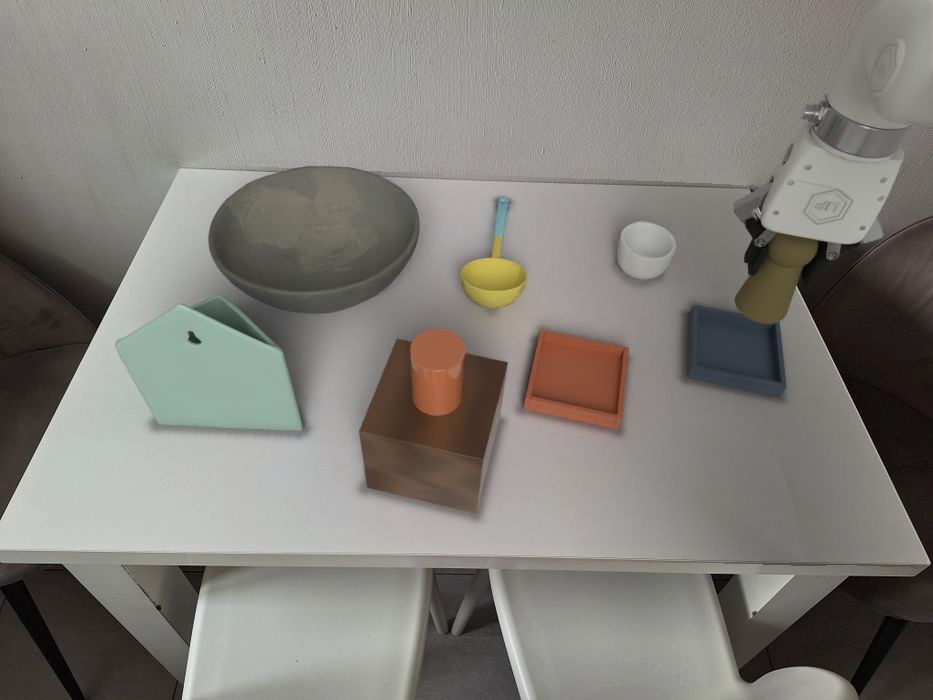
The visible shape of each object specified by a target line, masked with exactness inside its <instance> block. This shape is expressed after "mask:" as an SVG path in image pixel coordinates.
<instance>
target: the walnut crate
mask: <svg viewBox="0 0 933 700" xmlns="http://www.w3.org/2000/svg"><path fill="white" fill-rule="evenodd" d="M411 344H412V341H410V340H405V339H401V338H396V340H395V341H394V344H393V347H392V349H391V352H390V354H389V356H388V359H387V361H386V363H385V366H384V368H383V372H382V373H381V376H380V379H379V381H378V383H377V386H376V388H375V391H374V393H373V395H372V398H371V401H370V403H369V405H368V407H367V411H366V412H365V414H364V415H365V416H364V418H363V420H362V423H361V425H360V427H359V430H358V434H359V440H360V447H361V455H362V462H363V469H364V477H365V483H366V487H367V489H372V490H377V491H380V492H383V493H384V492H385V493H389V494H393V495H397V496H400V497H401V496H402V497H404V498H410V499H414V500H418V501H422V502H426V503H431V504H434V505H439V506H443V507H447V508H452V509H455V510H460V511H463V512H468V513H472V514H477V513H478V510H479V506H480V502H481V501H480V500H481V497H482V493H483V489H484V485H485V480H486V478H487V473H488V468H489V465H490V461H491V456H492V452H493V448H494V444H495V440H496V435H497V433H498V428H499V424H500V418H501V412H502V405H503V398H504V393H505V384H506V378H507V374H508V373H507V372H508V366H509V362H508V361H504V360H501V359H496V358H491V357H486V356H481V355H476V354H471V353H468V352H465V366H464V380H463V394H462V400H461V403H460V405H459V406H458V407H457V408H456V409H455V410H454V411H452V412H451V413H448V414H445V415H440V416H434V415H429V414H426V413H424V412H422V411H420V410H419V409H418V408H417V407H416V406H415V404H414V403H413V400H412V392H411V360H410V347H411Z"/></svg>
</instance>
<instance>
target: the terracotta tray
mask: <svg viewBox="0 0 933 700" xmlns="http://www.w3.org/2000/svg"><path fill="white" fill-rule="evenodd" d="M629 351H630V347H629V346H623V345H618V344H614V343H608V342H603V341H598V340H593V339H589V338H584V337H580V336H575V335H569V334H565V333H560V332H555V331H550V330H544V329H540V330H539V336H538V339H537V344H536V348H535V353H534V357H533V362H532V367H531V371H530V376H529V380H528V385H527V388H526V392H525V398H524V403H523V407H522V408H523V410H525V411H529V412H535V413H539V414H544V415H548V416H554V417H558V418H562V419H566V420H572V421H576V422H580V423H585V424H590V425H594V426H598V427H604V428H607V429H613V430H619V428H620V425H621V423H622V420H623V412H624V402H625V394H626V393H625V392H626V381H627V374H628V373H627V370H628V361H629V353H630V352H629Z"/></svg>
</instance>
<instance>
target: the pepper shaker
mask: <svg viewBox="0 0 933 700" xmlns="http://www.w3.org/2000/svg"><path fill="white" fill-rule="evenodd" d="M818 241H819V240H815V239H809V238H803V237H798V236H793V235H787V234H782V233H777V234H776V235H775V236H774V237H773V238H772V239H771V240H770V241H769V242H768V248H769V249H768V253H767V255H766V256H765V258H764V260H763V262H762V264H761V266H760V268H759V270H758V272H757V273H756V275H754V276H752V275H748V277H747V278H746V279H745V281H743V284H742V285H741V287H740V288H739V290H738V291H737V293H735V297H734V299H733V301H734V304H735V307H736V309H737V310H738V313H741V314H743V315H744V316H745V317H747V318H749V319H750V320H752V321H755V322H759V323H764V324H773V323H778V322H780V323H781V321H783V320H784V319H785V318H786V317H787V315H788V311H789V309H790V305H791V303H792V300H793V297H794V294H795V292H796V288H797V286H798V283H799V280H800V278H801V271H802V269H803V266H804V265H806V264H808V263H809V262H810V261H811V260H812V259H813V258H814V256H815V255H816V253H817V249H818Z"/></svg>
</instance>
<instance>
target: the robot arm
mask: <svg viewBox="0 0 933 700" xmlns="http://www.w3.org/2000/svg"><path fill="white" fill-rule="evenodd" d="M799 117H800V120H804V121H807V122H805V124H804V125H803V126H802V127H801V129H800V130H799V131H798V133H796V135H795V136H794V138H793V139H792V140H791V142H790V143H789V145H788V146H787V147H786V149H785V150H784V152H783V153H782V155H781V157H780V158H779V159H778V161H777V162H776V164H775V166H774V168H773V170H772V171H771V173H770V175H769V177H768V178H767V181H766V182H765V184H764V185H763V186H761V187H759V188H757V189H755V190H753V191H751V192H750V193H748V194H746V195H744V196H743V197H741V198H739V199H737V200H735V201H734V203H733V214H734V215H735V216H736V217H737V218H738V219H739V221H740V222H741V223H743V225H744V227H745V229H746V231H747V232H748V234H749V235H750V237H751V240H750V242H749V244H748V245H747V248H746V250H745V252H744V256H743V263H744V264H747V275H748V276H749V275H752V276H754V275H756V273H757V272H758V270H759V268H760V266H761V264H762V262H763V260H764V258H765V256H766V255H767V253H768V249H769V248H768V242H769V241H770V240H771V239H772V238H773V237H774V236H775V235H776V234H777V233H782V234H787V235H793V236H798V237H803V238H809V239H815V240H818V249H817V253H816V255H815V256H814V258H813V259H812V260H811V261H810V262H809V263H808V264H806V265H804V266H803V269H802V271H801V274H800V276H801V282H802V284H803V285H804V286H805V287H811V286H812V284H813V283H814V281H815V279H816V278H817V277H818V278H819V277H821V275H822V274H823V272H824V271H825V269H826V267H827V266H828V264H830V261H833V260H836V259H838V258H839V257H840V255H841V254H843V253H846V252H848V251H851V250H855V249H857V248H859V246H860V245H866V244H869V243H871V242H875V241H878V240H880V239H883V238H884V235H885V234H884V230H883V227H882V224H881V221H880V218H879V214H880V213H881V210H882V208H883V206H884V205H885V203H886V200H887V199H888V197H889V195H890V193H891V190H892V188H893V186H894V183H895V182H896V179H897V176H898V175H899V172H900V169H901V166H902V164H903V162H904V158H905V152H904V149H903V148H902V145H901V144H902V143H903V141H904V140H905V138H906V136H907V135H908V134H909V132H910V130H911V128H913V127H915V126H916V127H929V128H930V127H931V128H932V127H933V0H873V1H872V2H871V5H870V7H869V9H868V11H867V13H866V15H865V17H864V19H863V20H862V23H861V25H860V27H859V29H858V31H857V33H856V35H855V37H854V39H853V41H852V43H851V45H850V47H849V49H848V51H847V53H846V55H845V58H844V59H843V61H842V64H841V65H840V67H839V69H838V71H837V73H836V75H835V77H834V79H833V81H832V83H831V85H830V88H829V90H828V91H827V92H826V93H825V94H823V96H822V98H821V100H820V101H819V102H818V103H813V104H809V103H805V104H804V105H803V107H802V109H801V112H800V116H799ZM761 206H762V207H761ZM760 207H761V210H760V215H759V216H758V214H757V213H756V212H755V211H754V210H756V209H758V208H760Z"/></svg>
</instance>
